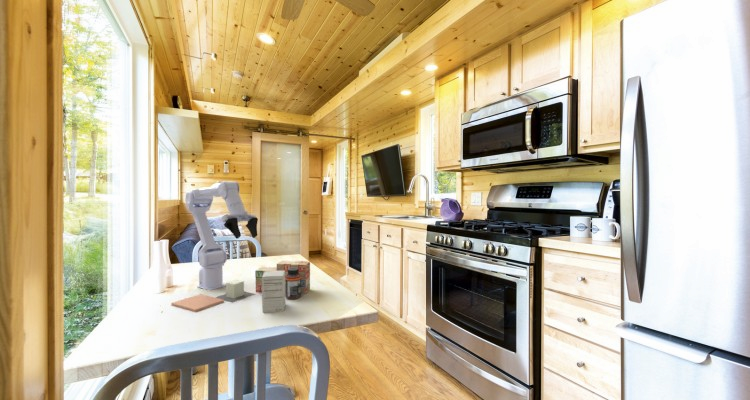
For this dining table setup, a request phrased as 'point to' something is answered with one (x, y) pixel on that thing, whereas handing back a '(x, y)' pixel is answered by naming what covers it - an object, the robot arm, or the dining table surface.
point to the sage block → (235, 289)
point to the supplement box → (273, 291)
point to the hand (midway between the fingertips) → (247, 236)
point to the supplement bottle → (293, 284)
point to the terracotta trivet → (197, 302)
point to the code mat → (246, 294)
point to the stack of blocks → (284, 266)
